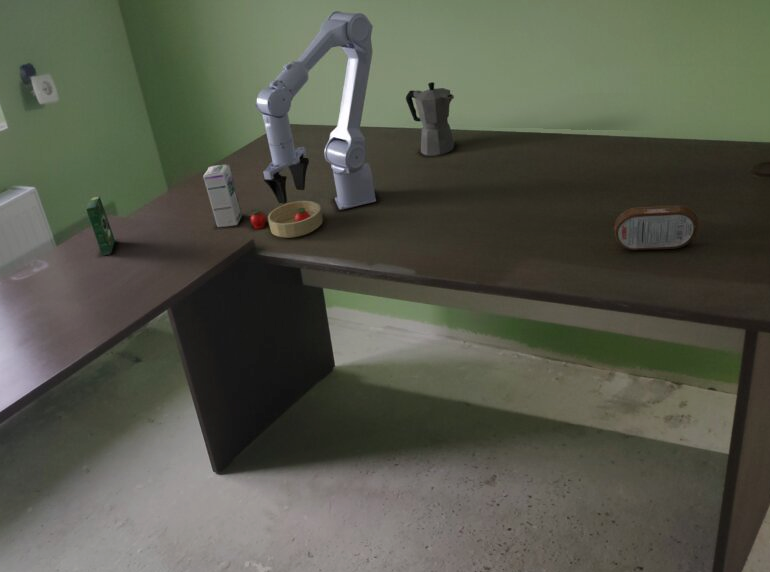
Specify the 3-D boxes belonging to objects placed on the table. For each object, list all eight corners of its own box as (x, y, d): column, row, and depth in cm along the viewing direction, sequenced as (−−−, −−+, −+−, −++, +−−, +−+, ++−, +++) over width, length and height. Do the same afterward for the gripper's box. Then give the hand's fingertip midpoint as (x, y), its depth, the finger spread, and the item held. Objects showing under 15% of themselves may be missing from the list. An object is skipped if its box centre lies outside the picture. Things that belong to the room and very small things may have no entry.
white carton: (237, 225, 224) (224, 171, 216) (216, 227, 226) (202, 174, 217) (242, 216, 228) (229, 163, 220) (221, 218, 230) (207, 166, 221)
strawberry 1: (261, 221, 223) (258, 206, 220) (269, 225, 220) (266, 209, 218) (249, 227, 221) (246, 212, 219) (258, 231, 219) (254, 215, 216)
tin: (695, 242, 170) (699, 202, 165) (696, 249, 168) (700, 209, 163) (613, 245, 176) (614, 207, 171) (613, 253, 174) (614, 214, 169)
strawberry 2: (310, 220, 215) (307, 205, 213) (312, 226, 212) (309, 211, 210) (295, 224, 215) (292, 209, 213) (297, 230, 212) (294, 214, 210)
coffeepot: (467, 145, 235) (462, 77, 224) (447, 158, 230) (441, 90, 220) (422, 140, 245) (415, 75, 234) (401, 153, 240) (393, 87, 230)
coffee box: (105, 242, 233) (89, 197, 226) (115, 240, 233) (100, 194, 225) (101, 255, 227) (84, 209, 219) (111, 253, 227) (95, 206, 219)
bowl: (319, 211, 221) (316, 196, 218) (326, 231, 210) (324, 216, 208) (268, 223, 221) (265, 208, 219) (273, 244, 210) (270, 229, 208)
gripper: (276, 154, 196) (287, 210, 204) (311, 129, 204) (321, 184, 212) (252, 152, 200) (264, 207, 208) (288, 129, 208) (298, 182, 216)
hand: (291, 195), depth 210 cm, fingers open, 7 cm apart
